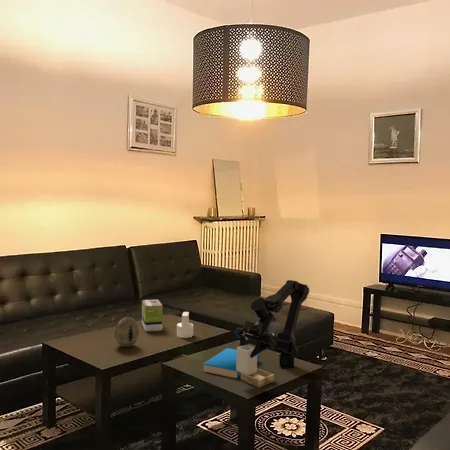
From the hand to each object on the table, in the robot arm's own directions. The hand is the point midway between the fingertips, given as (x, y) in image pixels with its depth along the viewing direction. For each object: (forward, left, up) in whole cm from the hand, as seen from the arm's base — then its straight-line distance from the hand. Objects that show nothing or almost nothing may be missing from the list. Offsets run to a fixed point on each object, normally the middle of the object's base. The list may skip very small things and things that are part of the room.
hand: (244, 355), depth 201 cm
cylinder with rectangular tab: (+24, -70, -13) cm, 75 cm away
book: (+3, -23, -14) cm, 27 cm away
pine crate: (-7, -6, -13) cm, 16 cm away
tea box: (+43, -85, -13) cm, 96 cm away
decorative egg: (+53, -50, -13) cm, 74 cm away
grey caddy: (-1, -1, -7) cm, 7 cm away
